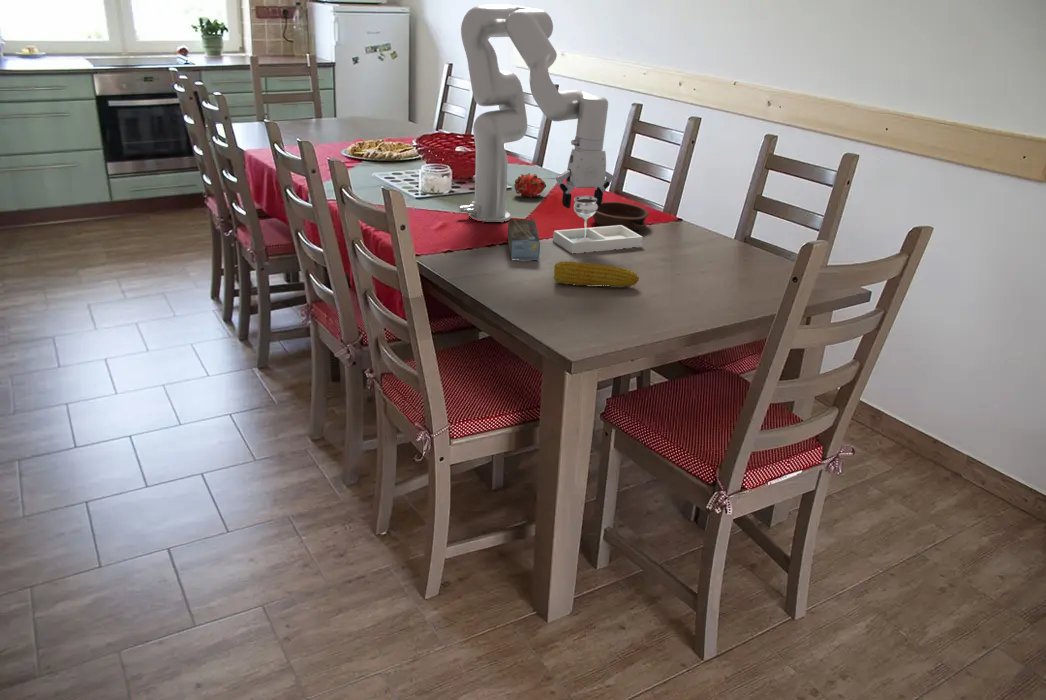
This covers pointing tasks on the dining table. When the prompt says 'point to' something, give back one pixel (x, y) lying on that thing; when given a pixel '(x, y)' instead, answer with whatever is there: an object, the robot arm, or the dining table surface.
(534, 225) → the beverage carton
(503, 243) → the dining table surface
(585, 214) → the wineglass
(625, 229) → the white divided tray
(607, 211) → the dish
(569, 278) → the food
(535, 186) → the dragon fruit
